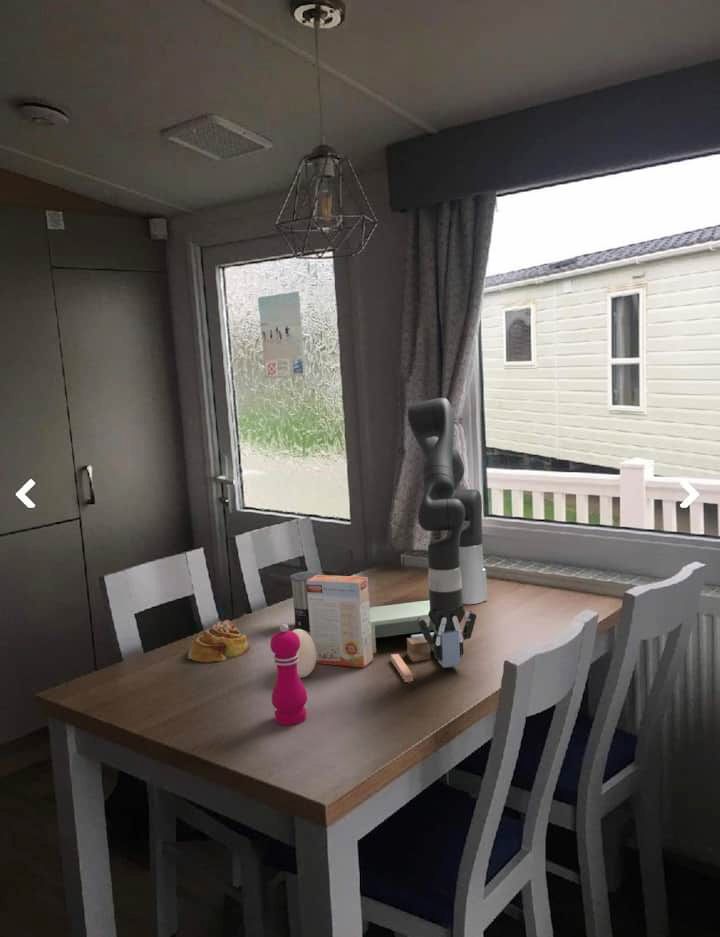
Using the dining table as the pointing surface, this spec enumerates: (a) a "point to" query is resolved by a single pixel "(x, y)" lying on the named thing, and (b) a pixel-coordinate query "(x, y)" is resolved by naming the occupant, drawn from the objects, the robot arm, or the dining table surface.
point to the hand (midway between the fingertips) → (449, 658)
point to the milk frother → (301, 598)
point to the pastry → (219, 643)
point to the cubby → (398, 619)
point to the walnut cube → (418, 648)
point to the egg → (305, 653)
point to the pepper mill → (287, 679)
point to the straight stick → (402, 667)
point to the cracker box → (340, 620)
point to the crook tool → (448, 647)
